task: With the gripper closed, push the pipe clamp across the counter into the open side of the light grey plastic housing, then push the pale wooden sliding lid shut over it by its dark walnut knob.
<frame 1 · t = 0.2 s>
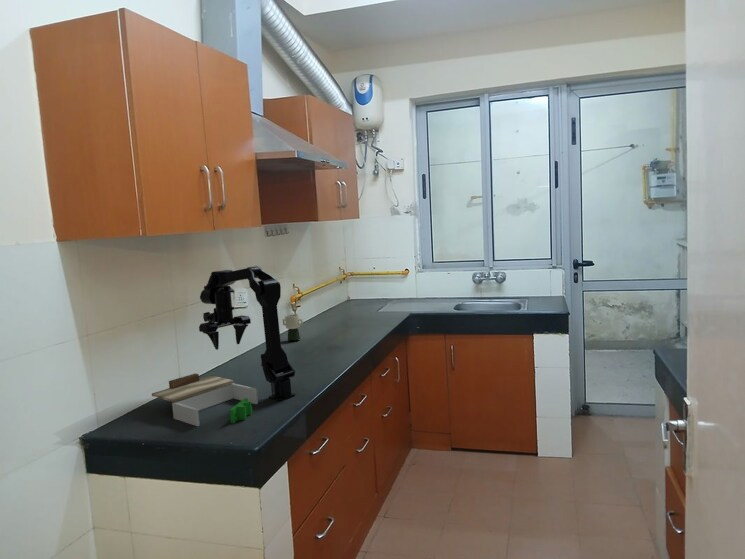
hand: (227, 346, 196), 15 cm above the counter, fingers open, 9 cm apart
housing: (217, 410, 170), on the counter
lid: (193, 384, 177), point 7 cm above the counter, slide at 12.0 cm
pipe clamp: (243, 417, 163), on the counter
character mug: (294, 341, 269), on the counter
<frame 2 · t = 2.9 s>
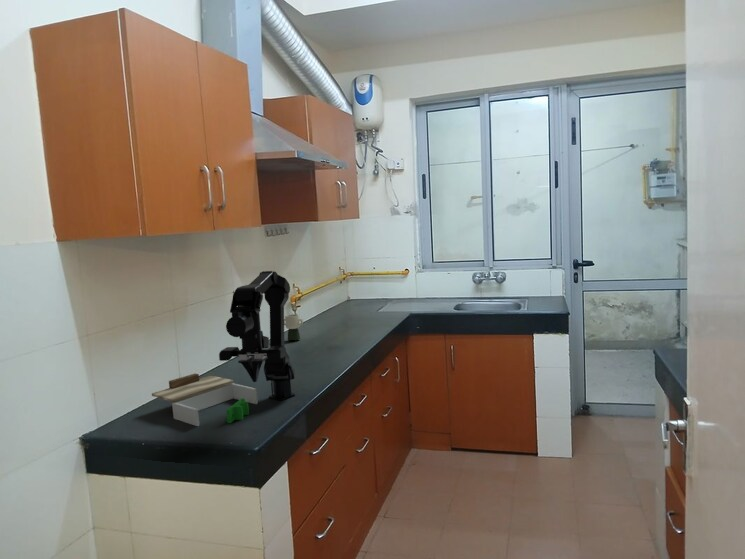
hand: (255, 381, 157), 12 cm above the counter, fingers closed
pipe clamp: (240, 417, 163), on the counter
everything else where it was.
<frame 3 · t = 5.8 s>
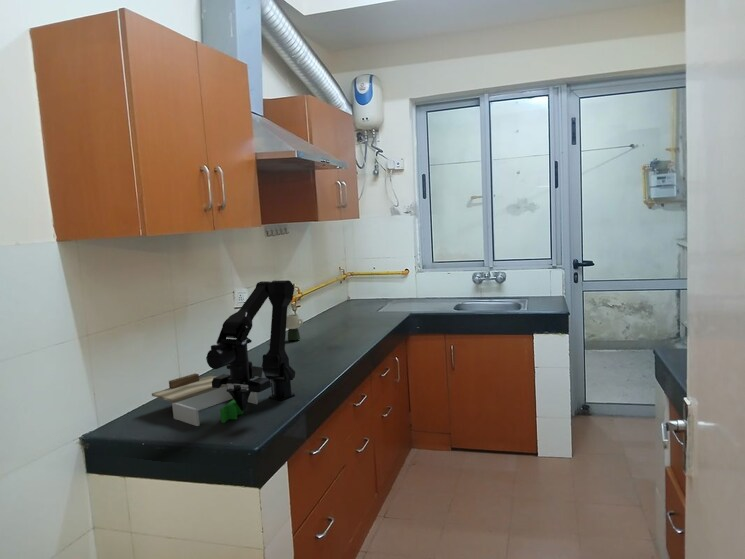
hand: (243, 410, 163), 2 cm above the counter, fingers closed
pipe clamp: (234, 417, 164), on the counter, touching gripper
everything else where it was.
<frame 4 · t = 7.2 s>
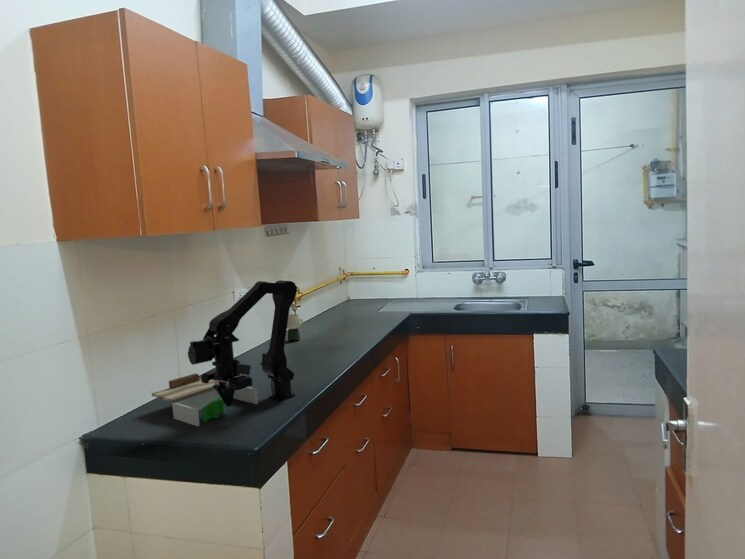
hand: (228, 406, 167), 2 cm above the counter, fingers closed
pipe clamp: (215, 416, 166), on the counter, touching gripper
everything else where it was.
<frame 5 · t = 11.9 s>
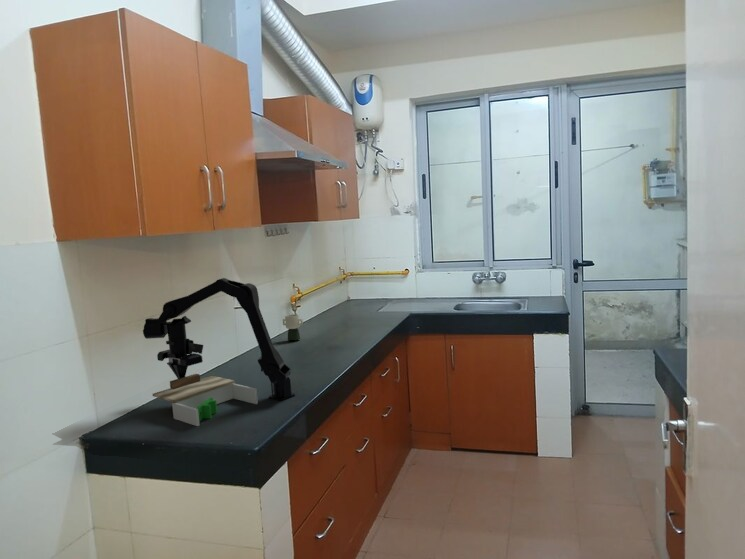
hand: (182, 382, 181), 7 cm above the counter, fingers closed
lid: (194, 384, 176), point 7 cm above the counter, slide at 11.4 cm, touching gripper
pipe clamp: (208, 416, 166), on the counter
everything else where it was.
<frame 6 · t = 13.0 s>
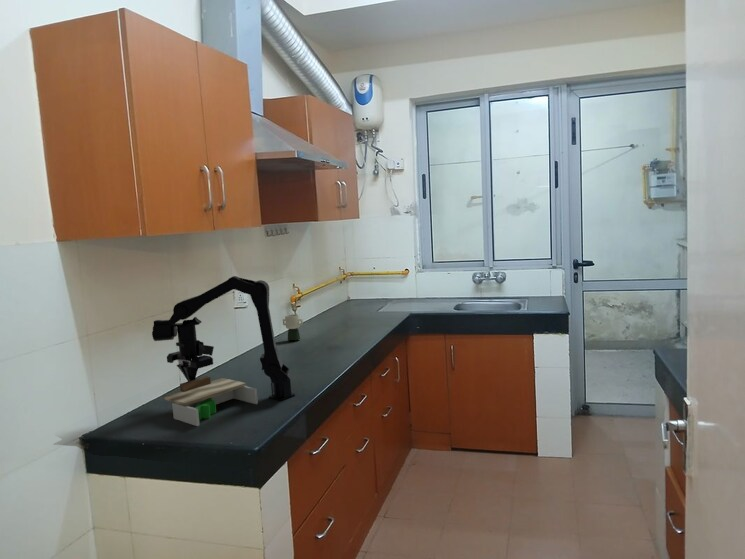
hand: (192, 384, 178), 7 cm above the counter, fingers closed
lid: (205, 387, 173), point 7 cm above the counter, slide at 5.3 cm, touching gripper
everything else where it was.
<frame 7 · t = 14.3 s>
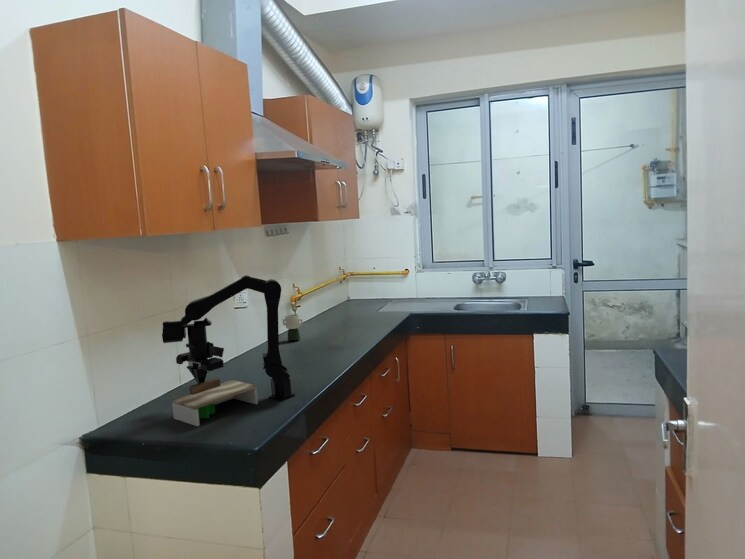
hand: (201, 386, 174), 7 cm above the counter, fingers closed
lid: (215, 389, 169), point 7 cm above the counter, slide at -0.1 cm, touching gripper
everything else where it was.
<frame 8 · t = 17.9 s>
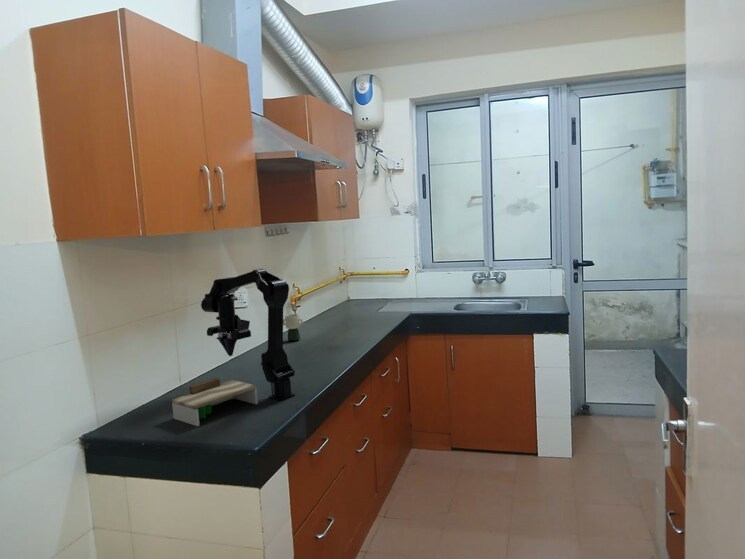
hand: (230, 355, 192), 12 cm above the counter, fingers closed
lid: (214, 389, 169), point 7 cm above the counter, slide at 0.0 cm
pipe clamp: (202, 416, 167), on the counter
everything else where it was.
at the end: pipe clamp inside the target area on the housing (5.1 cm from its centre), point 0.0 cm above the housing's base; lid slide at 0.0 cm; pipe clamp moved 14.3 cm from its start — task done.
